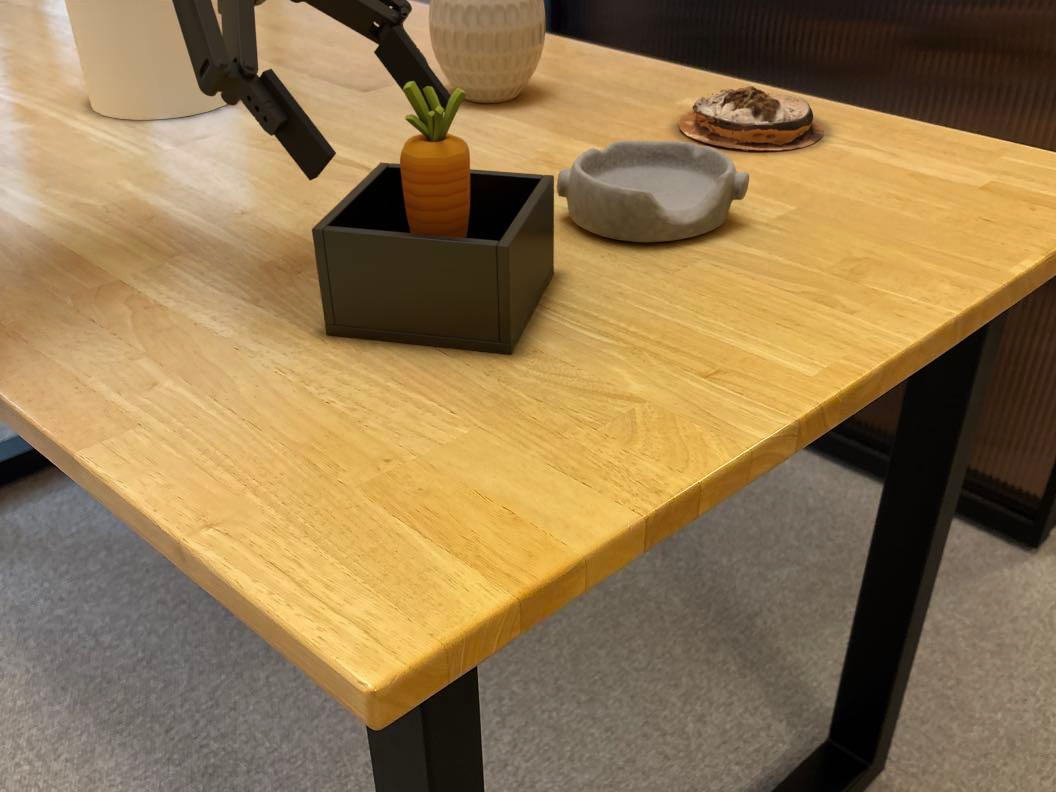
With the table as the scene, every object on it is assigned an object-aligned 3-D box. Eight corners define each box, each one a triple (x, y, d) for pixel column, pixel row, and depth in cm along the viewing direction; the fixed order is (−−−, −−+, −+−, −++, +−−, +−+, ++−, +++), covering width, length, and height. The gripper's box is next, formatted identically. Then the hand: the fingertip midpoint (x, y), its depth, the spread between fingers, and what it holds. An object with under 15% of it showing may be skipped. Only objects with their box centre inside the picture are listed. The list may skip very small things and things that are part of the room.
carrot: (488, 285, 81) (480, 75, 72) (457, 312, 78) (445, 95, 69) (431, 274, 83) (416, 67, 74) (397, 300, 79) (377, 86, 70)
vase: (431, 113, 118) (419, -59, 108) (436, 81, 129) (426, -80, 118) (548, 111, 119) (547, -61, 109) (543, 79, 129) (543, -81, 119)
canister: (206, 72, 132) (171, -118, 120) (258, 103, 122) (225, -102, 109) (73, 94, 125) (21, -106, 113) (115, 129, 115) (63, -88, 102)
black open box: (325, 334, 77) (311, 228, 72) (389, 259, 87) (380, 162, 83) (511, 354, 74) (508, 246, 70) (554, 274, 85) (554, 175, 80)
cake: (849, 125, 114) (855, 83, 112) (775, 162, 105) (781, 118, 103) (729, 99, 122) (733, 60, 119) (652, 132, 113) (654, 90, 110)
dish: (761, 218, 94) (768, 160, 91) (656, 265, 86) (659, 203, 83) (636, 177, 102) (638, 123, 99) (530, 216, 94) (529, 159, 91)
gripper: (285, -106, 83) (456, 124, 86) (13, -57, 66) (239, 227, 69) (330, -186, 78) (511, 62, 81) (48, -155, 61) (290, 158, 64)
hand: (386, 139), depth 75 cm, fingers open, 13 cm apart
